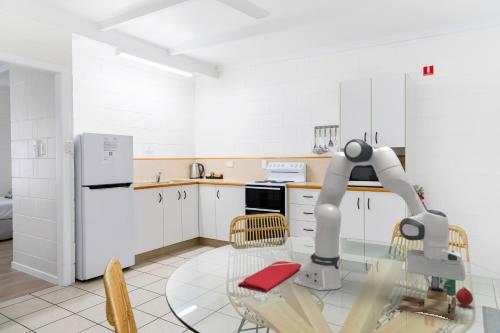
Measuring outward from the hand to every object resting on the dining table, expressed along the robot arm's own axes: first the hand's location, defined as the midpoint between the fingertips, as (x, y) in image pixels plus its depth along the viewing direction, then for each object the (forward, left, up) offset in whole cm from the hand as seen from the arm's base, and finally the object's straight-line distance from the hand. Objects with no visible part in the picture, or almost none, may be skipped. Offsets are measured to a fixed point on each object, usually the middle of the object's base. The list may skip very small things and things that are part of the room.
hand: (435, 287), depth 140 cm
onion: (+10, +12, -10) cm, 18 cm away
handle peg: (0, 0, -4) cm, 4 cm away
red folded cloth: (-73, +2, -10) cm, 74 cm away
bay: (-3, 0, -9) cm, 10 cm away
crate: (+1, 0, -9) cm, 9 cm away
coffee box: (+3, +26, -10) cm, 28 cm away
